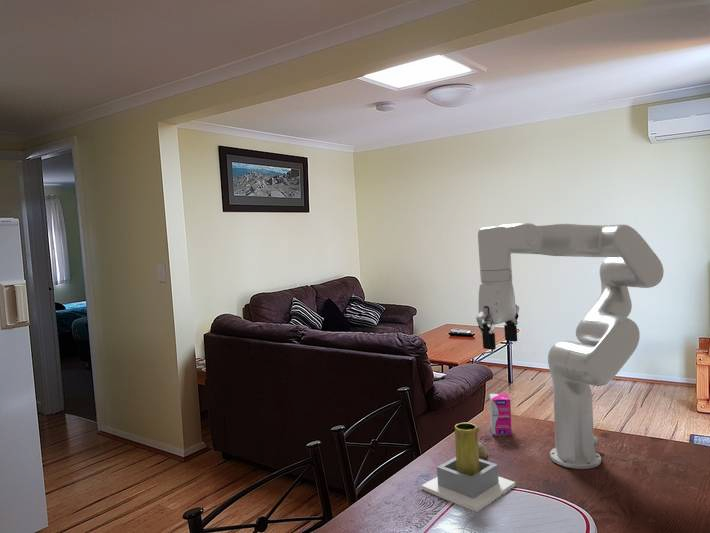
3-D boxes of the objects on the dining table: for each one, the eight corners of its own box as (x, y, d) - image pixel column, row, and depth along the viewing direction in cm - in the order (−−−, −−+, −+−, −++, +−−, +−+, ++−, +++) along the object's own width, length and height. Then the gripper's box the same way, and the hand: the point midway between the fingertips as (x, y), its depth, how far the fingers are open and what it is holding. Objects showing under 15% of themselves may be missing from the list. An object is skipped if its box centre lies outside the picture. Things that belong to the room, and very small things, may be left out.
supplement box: (492, 436, 157) (490, 399, 157) (490, 429, 163) (488, 393, 163) (512, 436, 156) (510, 399, 156) (509, 429, 162) (508, 393, 162)
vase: (482, 490, 123) (479, 431, 122) (455, 489, 124) (452, 430, 124) (481, 478, 129) (478, 421, 128) (456, 477, 130) (453, 421, 130)
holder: (461, 467, 138) (460, 446, 138) (515, 486, 126) (514, 463, 126) (421, 489, 127) (420, 467, 127) (476, 512, 116) (475, 488, 115)
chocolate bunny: (458, 453, 147) (457, 418, 146) (487, 453, 146) (485, 418, 145) (459, 461, 141) (457, 425, 141) (489, 462, 140) (487, 425, 140)
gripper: (502, 272, 137) (506, 336, 138) (462, 280, 125) (467, 350, 126) (528, 272, 131) (532, 339, 132) (489, 281, 120) (494, 354, 121)
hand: (500, 344), depth 129 cm, fingers open, 9 cm apart
